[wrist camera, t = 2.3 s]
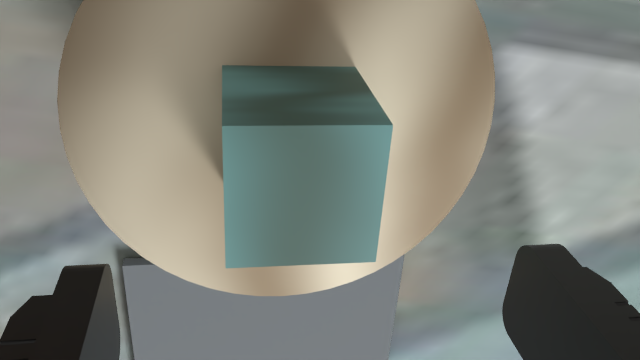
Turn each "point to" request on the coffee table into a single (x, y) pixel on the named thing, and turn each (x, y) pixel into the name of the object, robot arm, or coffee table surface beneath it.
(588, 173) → the coffee table surface
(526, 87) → the coffee table surface
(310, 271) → the lid
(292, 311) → the mat
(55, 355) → the robot arm
